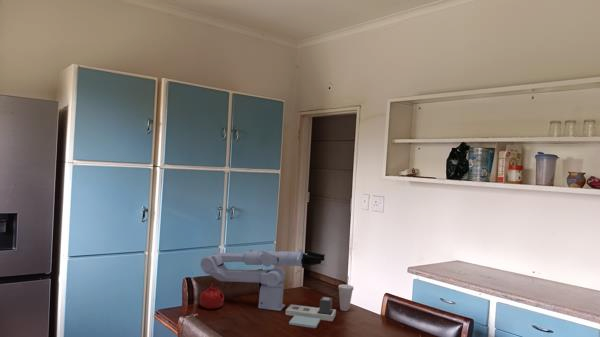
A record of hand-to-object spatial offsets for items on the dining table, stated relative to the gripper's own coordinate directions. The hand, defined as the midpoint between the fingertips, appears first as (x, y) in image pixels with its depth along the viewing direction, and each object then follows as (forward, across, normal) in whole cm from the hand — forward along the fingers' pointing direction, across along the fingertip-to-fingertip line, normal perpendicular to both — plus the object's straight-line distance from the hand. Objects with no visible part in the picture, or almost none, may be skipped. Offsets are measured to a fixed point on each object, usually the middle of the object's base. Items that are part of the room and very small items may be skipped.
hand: (322, 259), depth 176 cm
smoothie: (+7, +10, +23) cm, 26 cm away
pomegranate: (-44, -10, +18) cm, 49 cm away
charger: (+1, -3, +22) cm, 22 cm away
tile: (-5, -13, +21) cm, 26 cm away
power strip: (-4, -3, +22) cm, 22 cm away
